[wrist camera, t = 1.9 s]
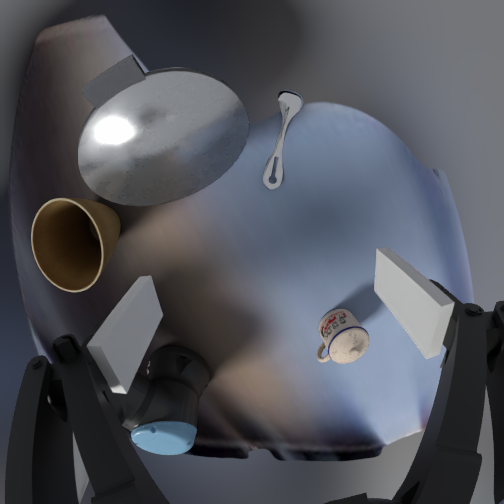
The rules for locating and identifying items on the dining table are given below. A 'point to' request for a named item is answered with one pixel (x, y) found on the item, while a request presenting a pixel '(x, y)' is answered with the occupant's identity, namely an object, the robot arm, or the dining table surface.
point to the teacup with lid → (342, 337)
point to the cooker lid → (158, 133)
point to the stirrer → (282, 134)
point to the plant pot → (74, 241)
